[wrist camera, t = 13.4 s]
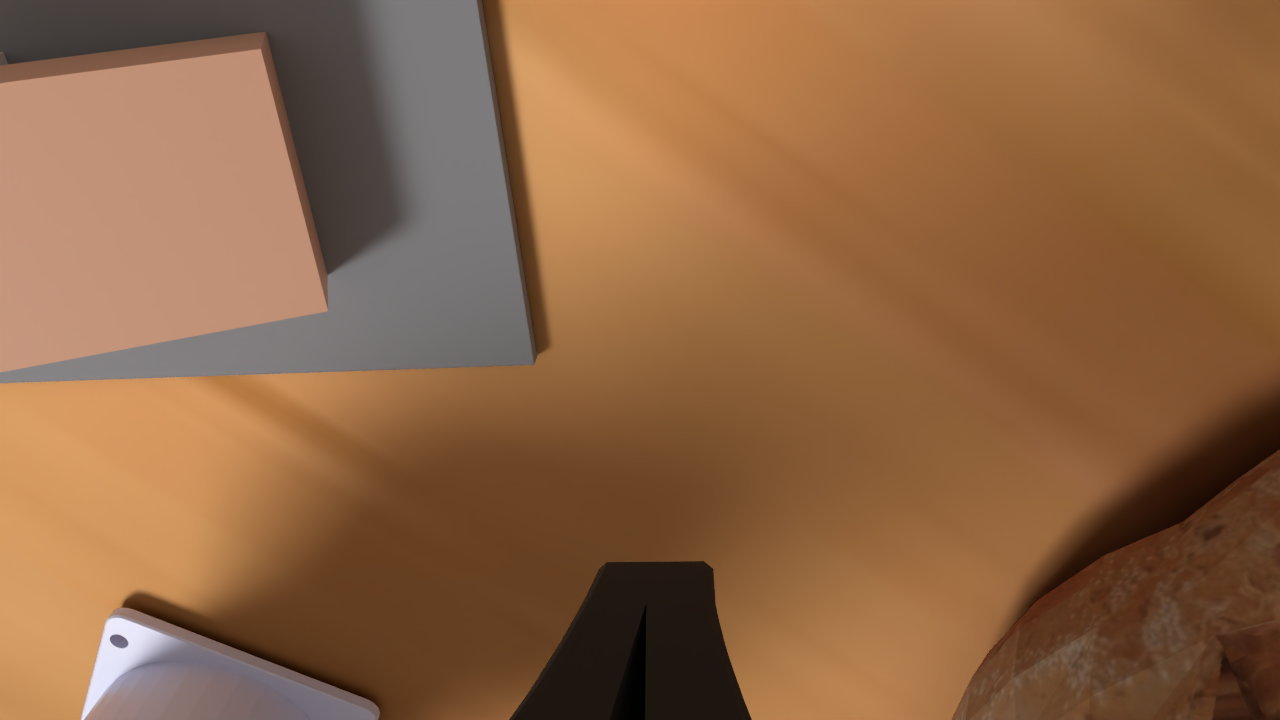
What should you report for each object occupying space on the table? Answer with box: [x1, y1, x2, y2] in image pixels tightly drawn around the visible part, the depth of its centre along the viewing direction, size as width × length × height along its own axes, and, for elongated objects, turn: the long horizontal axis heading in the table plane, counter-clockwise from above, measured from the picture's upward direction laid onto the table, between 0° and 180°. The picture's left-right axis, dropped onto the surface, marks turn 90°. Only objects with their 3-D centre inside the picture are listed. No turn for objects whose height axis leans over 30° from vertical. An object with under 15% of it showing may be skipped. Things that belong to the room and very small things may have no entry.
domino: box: [0, 32, 328, 372], centre depth 19 cm, size 2×5×9 cm
